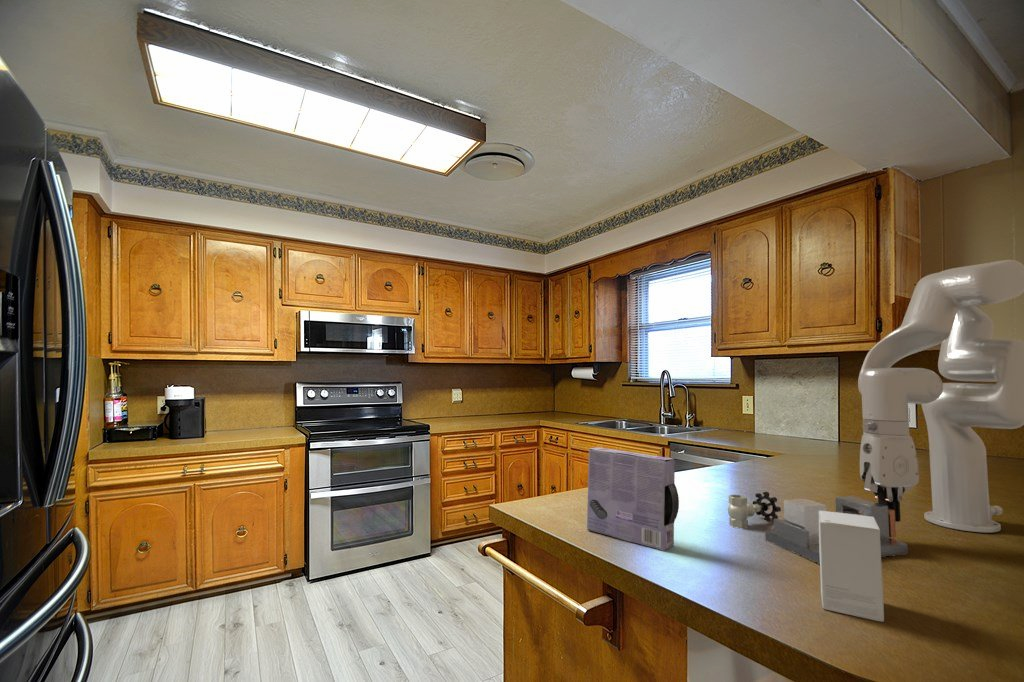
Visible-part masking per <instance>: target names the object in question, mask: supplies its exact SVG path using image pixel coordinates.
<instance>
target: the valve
mask: <svg viewBox="0 0 1024 682" xmlns="http://www.w3.org/2000/svg"><path fill="white" fill-rule="evenodd" d="M754 496H755V498H757V499H756V500H753V501H752V503H751V502H748V497H747V496H745V495H741V494H730V495H728V503H729V505H728V507H727V513H728V516H729V518H728V519H729V521H728V522H729V526H730V527H732V526H733V527H732V528H734V527H738V528H737V529H740V528H744V529H746V528H745V527H748V528H749V521H748V518H750V517H754V516H755V514H756V515H757V516H762V517H763V518H762V519H763V520H764V521H765V520H766V522H769V521H770V520H773V521H774V519H778V518H779V516H778V515H777V513H779V512H781V511H782V508H781V507H780V506H777V505H776V503H777V502H778V498H777V497H776V496H773V497H770V492H769V491H763V492H762V494H761V493H760V492H758V493H755V495H754ZM763 500H767V501H768V502H767V501H766V502H765V501H763ZM771 507H772V508H771ZM770 509H772V510H771V512H770V513H767V511H769V510H770Z"/></svg>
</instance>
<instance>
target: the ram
mask: <svg viewBox="0 0 1024 682" xmlns="http://www.w3.org/2000/svg"><path fill="white" fill-rule="evenodd" d="M838 513H847V514H855V515H863V516H864V511H861V510H853V511H840V512H838ZM888 522H889V538H891V539H893V538H897V531H896V529H897V528H896V527H897V526H896V522H895V510H893V509H889V508H888Z"/></svg>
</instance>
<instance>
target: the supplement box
mask: <svg viewBox="0 0 1024 682" xmlns="http://www.w3.org/2000/svg"><path fill="white" fill-rule="evenodd" d="M819 554H820V565H819V573H820V574H819V575H820V576H819V578H820V596H821V597H820V598H821V607H822V609H824V610H825V611H826V610H827V611H831V612H835V613H839V614H844V615H847V616H848V615H849V616H851V617H852V616H853V617H858V618H862V619H865V620H866V619H867V620H872V621H876V622H882V623H883V622H884V621H885V612H884V611H885V609H884V607H885V606H884V589H883V588H884V587H883V586H884V585H883V584H884V583H883V568H882V558H881V544H880V529H879V527H878V525H877V522H876V520H875V518H874V517H871V516H863V515H855V514H847V513H838V512H836V511H828V510H826V511H819Z"/></svg>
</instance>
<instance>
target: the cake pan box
mask: <svg viewBox="0 0 1024 682" xmlns="http://www.w3.org/2000/svg"><path fill="white" fill-rule="evenodd" d="M675 465H676V461H675V458H674V457H673V458H672V457H666V456H657V455H652V454H646V453H640V452H634V451H626V450H625V451H624V450H618V449H612V448H608V447H607V448H606V447H600V446H597V447H590V448H589V449H588V477H587V478H588V479H587V480H588V481H587V504H586V505H587V510H586V513H587V514H586V530H587V531H590V532H595V533H599V534H602V535H606V536H609V537H612V538H614V539H617V540H622V541H625V542H628V543H635V544H638V545H642V546H644V547H649V548H653V549H657V550H659V551H663V552H665V551H666V550H669V549H671V548H672V547H674V545H675V521H676V520H677V516H678V513H679V508H680V506H679V505H680V498H679V493H678V489H677V486H676V484H675V483H676V482H675V475H676V473H675V469H676V468H675ZM670 547H671V548H670Z"/></svg>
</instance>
